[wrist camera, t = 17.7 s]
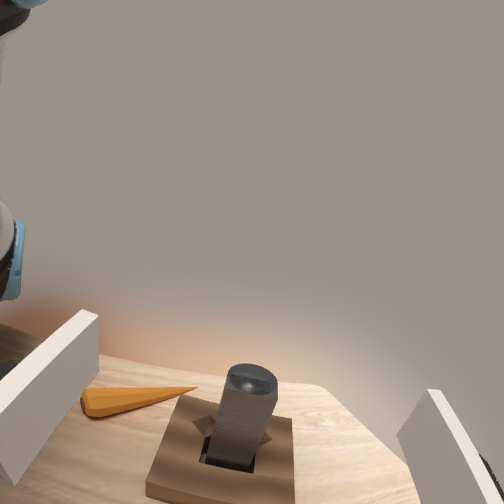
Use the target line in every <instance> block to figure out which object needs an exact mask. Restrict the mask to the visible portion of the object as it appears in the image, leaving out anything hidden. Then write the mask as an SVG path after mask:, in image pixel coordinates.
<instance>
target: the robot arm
mask: <svg viewBox="0 0 504 504" xmlns="http://www.w3.org/2000/svg"><path fill="white" fill-rule="evenodd" d="M47 1H48V0H0V80H1V71H2V63H3V57H4V50H5V44H6V40H7V39H8V38H9V37H11V36H12V35H13V34H14V33H15V32H16V31H18V30H19V29H20V28H21V27H22V26H23V25H25V23H26V22H27V20H28V17H29V13H30V10H31V8H34V7H36V6H39V5H42V4H44V3H45V2H47ZM24 238H25V225H24V223H22V222H18V221H17V220H13V219H12V215H11V213H10V211H9V210H8V208H7V207H6V206H5V205H4V204H3V203H2V202H1V200H0V302H1V301H3V300H15V299H17V298H18V297H19V295H20V291H21V271H22V260H23V247H24ZM98 373H99V316H98V315H96V314H93V313H90V312H88V311H85V310H83V309H82V310H81V311H80V312H78V313H77V314H76V315H75V316H73V318H71V319H70V320H69V321H68V322H66V323H65V324H64V325H63V326H62V327H60V328H59V329H58V330H57V331H56V332H54V333H53V334H52V335H51V336H50V337H49V338H48V339H46V340H45V341H44V342H43V343H42V344H41V345H39V346H38V347H37V348H36V349H35V350H34V351H33V352H31V353H30V354H29V355H28V356H27V357H26V358H25V359H24V360H23V361H21V362H20V363H19V364H17V363H15V362H14V361H12V360H9V361H6V362H4V363H1V364H0V476H1V477H3V478H4V479H5V480H7V481H8V482H10V483H11V484H13V485H14V486H16V484H17V483H18V481H19V480H20V478H21V477H22V475H23V474H24V473H25V471H26V470H27V468H28V467H29V465H30V464H31V463H32V461H33V460H34V458H35V457H36V455H37V454H38V453H39V451H40V450H41V448H42V447H43V446H44V444H45V443H46V442H47V440H48V439H49V437H50V436H51V435H52V433H53V432H54V431H55V429H56V428H57V426H58V425H59V424H60V422H61V421H62V420H63V418H64V417H65V416H66V414H67V413H68V412H69V410H70V409H71V408H72V406H73V405H74V404H75V402H76V401H77V400H78V398H79V397H80V396H81V395H82V393H83V392H84V391H85V389H86V388H87V387H88V385H89V384H90V383H91V382H92V380H93V379H94V378H95V376H96V375H97V374H98ZM397 437H398V439H399V442H400V445H401V448H402V450H403V453H404V456H405V458H406V461H407V464H408V467H409V469H410V472H411V475H412V478H413V481H414V484H415V487H416V490H417V492H418V495H419V498H420V501H421V504H504V493H503V491H502V489H501V487H500V485H499V483H498V481H496V477H495V475H494V474H492V470H491V468H490V466H489V464H488V463H487V461H486V460H485V459H483V457H482V456H481V455H480V454H478V453H477V451H476V449H475V447H474V446H473V444H472V442H471V440H470V439H469V437H468V435H467V433H466V432H465V430H464V428H463V427H462V425H461V423H460V421H459V420H458V418H457V416H456V415H455V413H454V412H453V410H452V408H451V407H450V405H449V403H448V402H447V400H446V399H445V397H444V395H443V394H442V392H441V391H440V390H434V389H427V390H426V391H425V393H424V394H423V396H422V398H421V399H420V401H419V403H418V404H417V406H416V407H415V409H414V410H413V412H412V413H411V415H410V416H409V418H408V419H407V421H406V422H405V423H404V425H403V426H402V428H401V429H400V431H399V432H398V433H397Z"/></svg>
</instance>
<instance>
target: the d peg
mask: <svg viewBox="0 0 504 504" xmlns="http://www.w3.org/2000/svg"><path fill="white" fill-rule="evenodd" d="M277 400H278V383H277V379H276V377H275V376H274V375H273V374H272V373H271V372H270V371H269V370H267V369H265V368H263V367H261V366H258V365H253V364H238V365H235V366H233V367H231V368H230V370H229V371H228V375H227V379H226V382H225V386H224V390H223V394H222V398H221V402H220V405H219V409H218V413H217V417H216V421H215V425H214V428H213V432H212V436H211V440H210V444H209V447H208V451H207V455H206V459H205V463H204V464H207V465H211V466H216V467H220V468H225V469H230V470H235V471H240V472H246V473H247V471H248V468H249V466H250V464H251V462H252V459H253V457H254V455H255V453H256V450H257V448H258V446H259V443H260V441H261V439H262V436H263V434H264V432H265V429H266V427H267V425H268V422H269V420H270V417H271V415H272V412H273V410H274V407H275V405H276V402H277Z"/></svg>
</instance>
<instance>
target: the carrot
mask: <svg viewBox="0 0 504 504" xmlns="http://www.w3.org/2000/svg"><path fill="white" fill-rule="evenodd" d="M195 388H198V387H165V388H91V389H88V390H85V391H84V392H83V393H82V397H81V398H80V403H81V407H82V409H83V410H84V411H85V412H86V414H87V416H94V417H103V416H107V415H111V414H115V413H119V412H123V411H127V410H131V409H134V408H138V407H142V406H145V405H149V404H152V403H156V402H159V401H162V400H166V399H169V398H172V397H175V396H178V395H180V394H183V393H185V392H188V391H191V390H193V389H195Z"/></svg>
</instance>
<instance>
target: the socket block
mask: <svg viewBox="0 0 504 504" xmlns="http://www.w3.org/2000/svg"><path fill="white" fill-rule="evenodd" d="M219 405H220V404H217V403H213V402H209V401H205V400H202V399H198V398H194V397H191V396H187V395H183V394H180V397H179V399H178V401H177V404H176V406H175V409H174V411H173V414H172V416H171V419H170V421H169V424H168V426H167V429H166V431H165V434H164V436H163V439H162V441H161V444H160V446H159V449H158V451H157V454H156V456H155V459H154V461H153V464H152V466H151V469H150V471H149V474H148V476H147V479H146V496H147V497H150V498H153V499H156V500H159V501H163V502H166V503H169V504H295V493H294V460H293V435H292V419H291V418H285V417H279V416H273V415H271V417H270V420H269V422H268V425H267V427H266V429H265V432H264V434H263V436H262V439H261V441H260V443H259V446H258V448H257V450H256V453H255V455H254V457H253V459H252V462H251V464H250V466H249V468H248V473H246V472H240V471H235V470H230V469H225V468H220V467H216V466H211V465H207V464H203V463H199V460H200V456H201V455H202V454H204V453H207V451H208V447H209V444H210V440H211V436H212V432H213V428H214V425H215V421H216V417H217V413H218V409H219Z"/></svg>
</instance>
